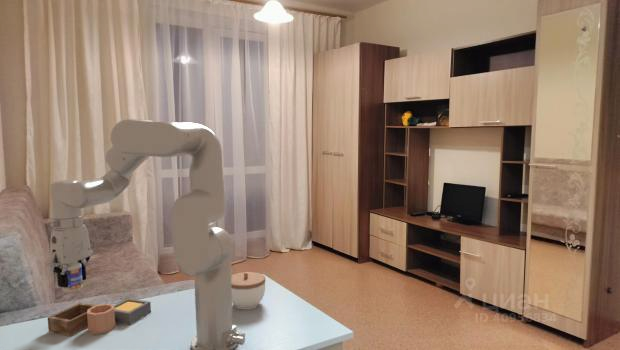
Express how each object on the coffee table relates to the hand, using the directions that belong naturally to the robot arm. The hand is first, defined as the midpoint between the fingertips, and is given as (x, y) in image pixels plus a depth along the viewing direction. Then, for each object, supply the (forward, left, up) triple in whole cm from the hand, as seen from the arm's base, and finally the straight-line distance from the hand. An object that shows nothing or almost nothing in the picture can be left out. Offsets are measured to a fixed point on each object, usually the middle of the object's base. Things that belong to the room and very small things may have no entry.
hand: (72, 282), depth 122 cm
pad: (-11, -10, -11) cm, 18 cm away
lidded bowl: (-42, -29, -14) cm, 52 cm away
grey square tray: (-11, -10, -13) cm, 20 cm away
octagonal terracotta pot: (-9, -1, -13) cm, 16 cm away
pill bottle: (0, 0, -2) cm, 2 cm away
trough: (0, 0, -13) cm, 13 cm away
